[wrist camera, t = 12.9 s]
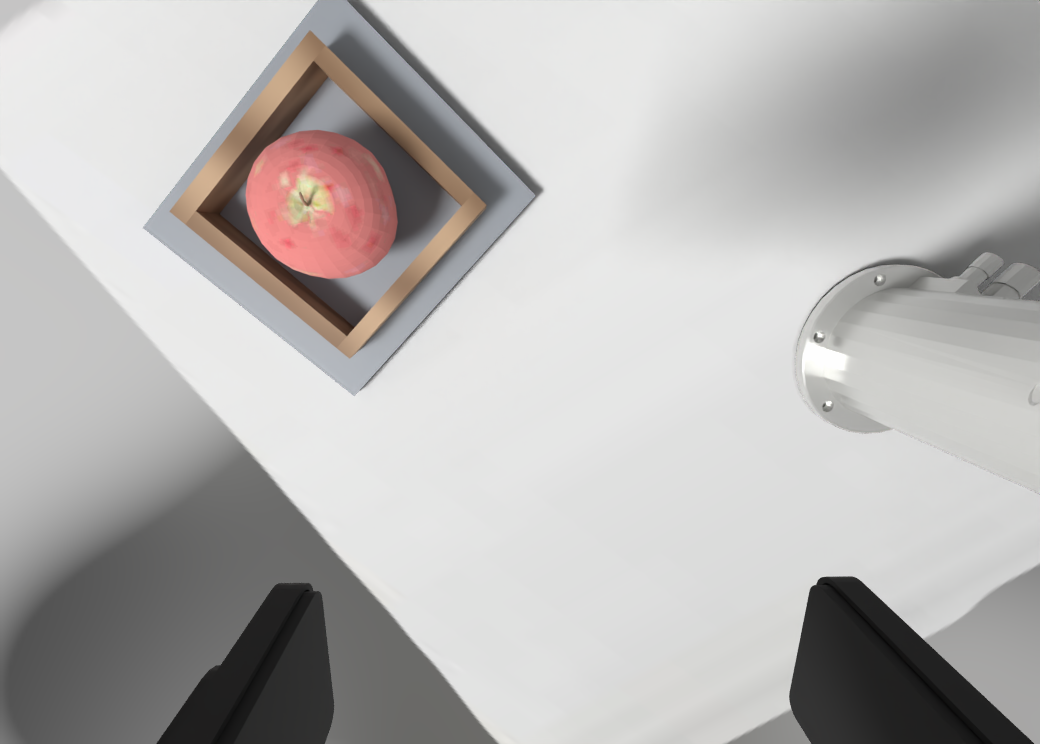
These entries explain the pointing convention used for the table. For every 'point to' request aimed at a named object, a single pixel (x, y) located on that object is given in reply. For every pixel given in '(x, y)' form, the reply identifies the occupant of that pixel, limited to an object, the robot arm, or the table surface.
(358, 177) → the apple
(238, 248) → the tray
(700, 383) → the table surface
